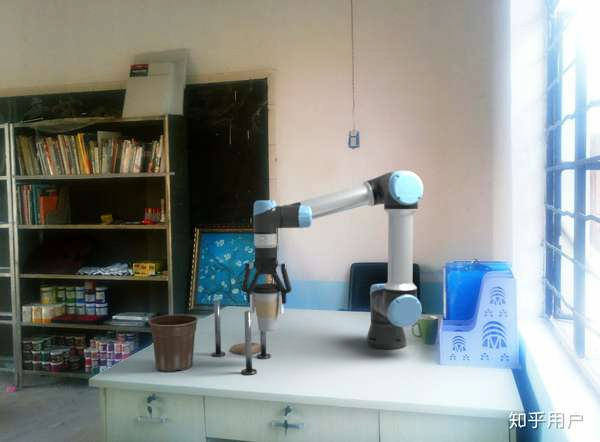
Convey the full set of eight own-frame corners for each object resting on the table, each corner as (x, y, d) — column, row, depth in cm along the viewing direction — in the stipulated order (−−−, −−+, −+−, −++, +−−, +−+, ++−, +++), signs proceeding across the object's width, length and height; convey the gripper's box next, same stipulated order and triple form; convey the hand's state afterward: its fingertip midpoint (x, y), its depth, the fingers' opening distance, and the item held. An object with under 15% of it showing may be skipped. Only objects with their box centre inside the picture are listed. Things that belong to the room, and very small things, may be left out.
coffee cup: (277, 333, 173) (276, 287, 172) (249, 332, 175) (248, 287, 174) (284, 326, 182) (283, 283, 181) (257, 325, 184) (256, 282, 183)
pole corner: (272, 355, 190) (270, 299, 189) (268, 359, 185) (267, 302, 184) (258, 354, 191) (257, 299, 190) (254, 358, 186) (253, 302, 185)
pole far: (227, 353, 194) (225, 298, 193) (222, 357, 189) (220, 301, 188) (214, 352, 195) (212, 298, 194) (209, 356, 190) (207, 301, 189)
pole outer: (258, 370, 174) (257, 310, 173) (254, 375, 169) (252, 313, 168) (244, 369, 175) (242, 309, 174) (239, 374, 170) (237, 313, 169)
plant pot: (206, 360, 186) (205, 314, 185) (187, 375, 170) (186, 325, 170) (163, 358, 189) (162, 313, 189) (141, 373, 174) (139, 324, 173)
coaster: (267, 346, 202) (267, 343, 202) (258, 355, 190) (258, 352, 190) (237, 344, 205) (237, 342, 204) (226, 353, 193) (226, 351, 193)
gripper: (230, 247, 176) (232, 314, 177) (295, 247, 171) (296, 316, 172) (237, 245, 183) (239, 309, 184) (300, 245, 179) (301, 311, 180)
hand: (266, 312), depth 178 cm, fingers closed on coffee cup, 9 cm apart
